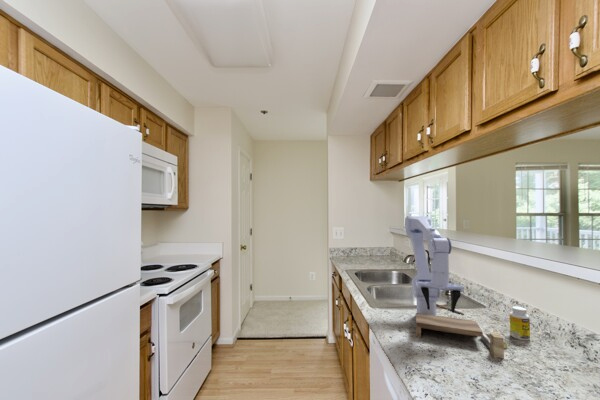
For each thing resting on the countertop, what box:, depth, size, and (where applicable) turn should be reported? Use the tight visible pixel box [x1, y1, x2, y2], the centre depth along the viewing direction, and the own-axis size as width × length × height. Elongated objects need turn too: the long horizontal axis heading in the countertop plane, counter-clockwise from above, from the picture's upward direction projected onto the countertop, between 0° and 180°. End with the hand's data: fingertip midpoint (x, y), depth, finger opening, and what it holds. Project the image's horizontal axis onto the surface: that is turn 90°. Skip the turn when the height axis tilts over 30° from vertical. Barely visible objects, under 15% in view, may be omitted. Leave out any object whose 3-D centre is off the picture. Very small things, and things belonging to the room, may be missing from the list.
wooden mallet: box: [480, 332, 505, 359], centre depth 89 cm, size 13×3×6 cm, turn 165°
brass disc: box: [503, 340, 508, 350], centre depth 91 cm, size 5×5×1 cm
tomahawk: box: [436, 303, 465, 316], centre depth 127 cm, size 20×7×1 cm, turn 25°
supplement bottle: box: [509, 306, 531, 341], centre depth 97 cm, size 6×6×10 cm
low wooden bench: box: [415, 312, 484, 339], centre depth 97 cm, size 10×20×5 cm, turn 68°
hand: (440, 310), depth 97 cm, fingers open, 7 cm apart
